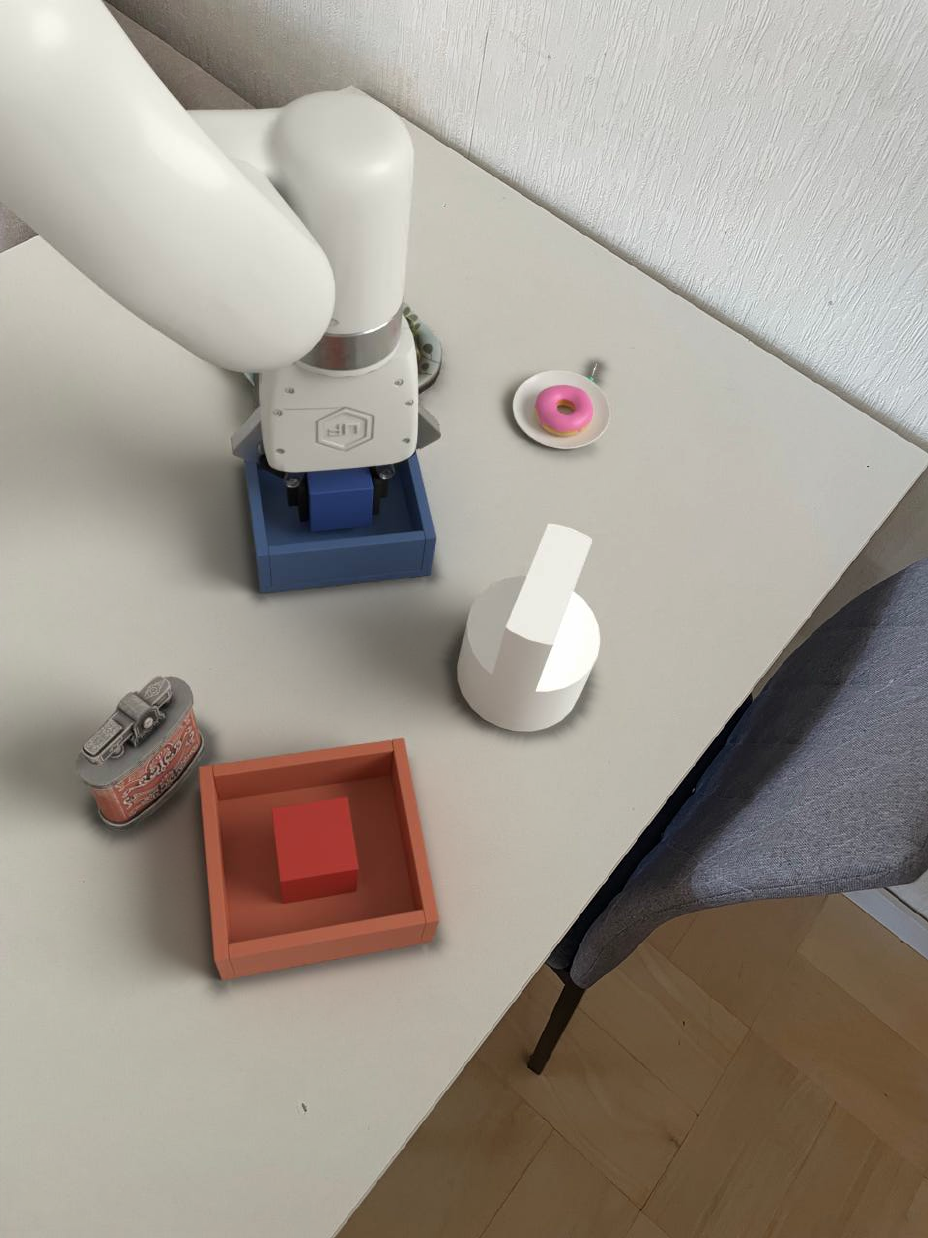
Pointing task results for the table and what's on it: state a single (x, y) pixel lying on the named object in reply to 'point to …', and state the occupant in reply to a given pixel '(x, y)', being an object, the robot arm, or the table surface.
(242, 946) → the terracotta bin
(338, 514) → the blue block
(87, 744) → the lighter
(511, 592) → the cylinder with rectangular tab
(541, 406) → the donut
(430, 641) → the table surface
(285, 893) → the red block
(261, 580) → the blue bin
